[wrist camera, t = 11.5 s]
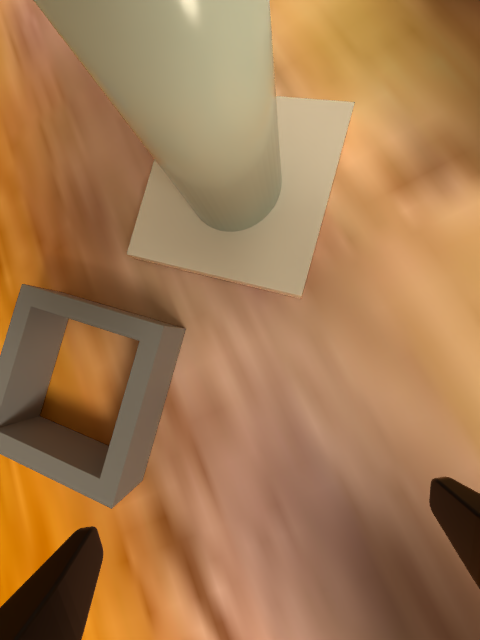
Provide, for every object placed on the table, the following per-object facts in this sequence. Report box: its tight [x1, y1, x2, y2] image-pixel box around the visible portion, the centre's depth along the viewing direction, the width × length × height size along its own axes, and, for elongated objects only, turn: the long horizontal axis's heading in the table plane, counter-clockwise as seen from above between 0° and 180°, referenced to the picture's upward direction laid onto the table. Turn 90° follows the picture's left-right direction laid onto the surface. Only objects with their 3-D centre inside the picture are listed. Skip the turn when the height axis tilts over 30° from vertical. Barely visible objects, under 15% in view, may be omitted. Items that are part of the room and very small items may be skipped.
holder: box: [0, 284, 186, 509], centre depth 17 cm, size 10×10×3 cm
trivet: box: [127, 96, 355, 299], centre depth 17 cm, size 12×12×1 cm
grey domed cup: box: [34, 0, 282, 232], centre depth 10 cm, size 9×7×13 cm
